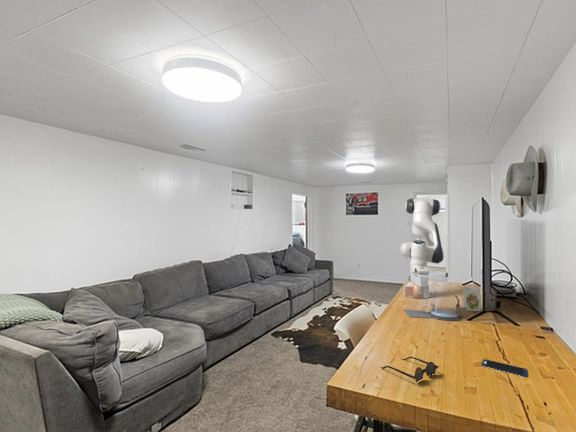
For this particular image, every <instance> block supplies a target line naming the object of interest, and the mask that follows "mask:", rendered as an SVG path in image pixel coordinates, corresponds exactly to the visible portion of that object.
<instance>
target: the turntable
mask: <svg viewBox="0 0 576 432" xmlns="http://www.w3.org/2000/svg"><path fill="white" fill-rule="evenodd" d="M431 308H432V309H431ZM431 308H430V311H429V312H430V313H431V314H432V315H434V316H437V317H441V318H449V319H453V318H457V317H458V316H460V317H468V310H467V308H466V307H465V306H455V311H454V310H450V309H447V308H438V306H437V305H435V303H434V304H433V303H432V306H431Z"/></svg>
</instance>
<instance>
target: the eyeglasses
mask: <svg viewBox="0 0 576 432" xmlns="http://www.w3.org/2000/svg"><path fill="white" fill-rule="evenodd" d="M401 359H402V360H403V361H407V360H409V359H413V360H416V361H419V362H421V363H422V364H426V366H425V368H421V367H420V366H417V367H416V368H415V371H414V375H412V374H410V373H407V372H405V371H403V370H400V369H399V368H395V367H393V366H390V365H384V366H380V367H381V368H382V369H381V368H380V369H381V370H384V369H387V368H389V369H390V370H394V371H396V372H398V373H400V374H402V375H405V376H406V377H409V378H410V379H413V380H414V381H415V382H416V383H417V382H418V381H419V380H421V379H423V380H424V374H426V376H427V377H428V376H429V375H432V374H434V375H436V371H437V369H439V366H438V365H436V364H435V363H434V361H433V362H432V361H429V362H428V361H425V360H423V359H420V358H417V357H415V356H407V357H406V358H401Z"/></svg>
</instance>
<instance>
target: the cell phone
mask: <svg viewBox="0 0 576 432" xmlns="http://www.w3.org/2000/svg"><path fill="white" fill-rule="evenodd" d="M483 366H485V367H484V368H486V367H490V368H494V369H497V370H496V371H498V370H501V371H500V372H502V371H505V372H504V373H506V372H509V373H508V374H510V373H513V374H512V375H514V374H516V375H515V376H518V375H520V376H519V377H522V376H523V378H528V369H526V368H524V367H520V366H516V365H511V364H507V363H503V362H499V361H494V360H490V359H487V358H484V359H483V360H482V363H481V367H483ZM490 368H489V369H490ZM494 369H493V370H494Z"/></svg>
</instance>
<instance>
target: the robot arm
mask: <svg viewBox="0 0 576 432" xmlns="http://www.w3.org/2000/svg"><path fill="white" fill-rule="evenodd" d="M441 207H442V206H441V203H440V201H439V200H438V199H431V198H408V199H407V200H406V202H405V205H404V209H405V211H406V213H408V214H410V215H412V225H411V233H412V235H413V236H414V237H416V238H417V240H416V239H415V240H413V241H406V242H402V243H401V245H400V247H399V252H400V254H401V255H402V256H403V257H404V258H405V259H406V260H407V262H408V264H409V265H408V266H409V275H408V282H407V283H406V284H405V285H404V286H413V283H414V284H416V285H418V286H419V290H418V293H419V294H422V291H423V288H424V299H429V298H432V295H431V294H430V285H429V283H428V282H429V274H430V270H429V268H428V263H432V264H440V263H441V262H443V260H444V258H445V254H444V250H443V247H442V241H441V235H440V231H439V226H438V224H437V223H436V222H434V221H433V218H432V217H433V216H435V215H437V214H439V212H440V211H441ZM430 235H431V237H432V239H431V237H430ZM432 240H433V241H432ZM404 286H403V287H404ZM402 293H403V295H404V289H403V290H402ZM408 297H409V298H412V296H408Z"/></svg>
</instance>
